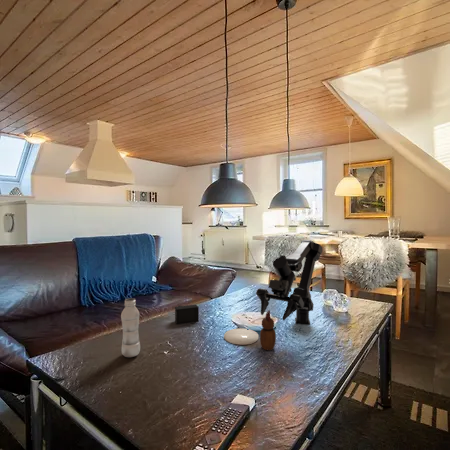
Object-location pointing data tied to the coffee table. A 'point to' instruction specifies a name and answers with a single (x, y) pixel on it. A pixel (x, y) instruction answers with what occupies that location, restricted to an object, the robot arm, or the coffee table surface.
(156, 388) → the coffee table surface
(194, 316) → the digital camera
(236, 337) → the ceramic plate
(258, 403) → the coffee table surface
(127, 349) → the plastic bottle
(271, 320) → the wooden figurine
